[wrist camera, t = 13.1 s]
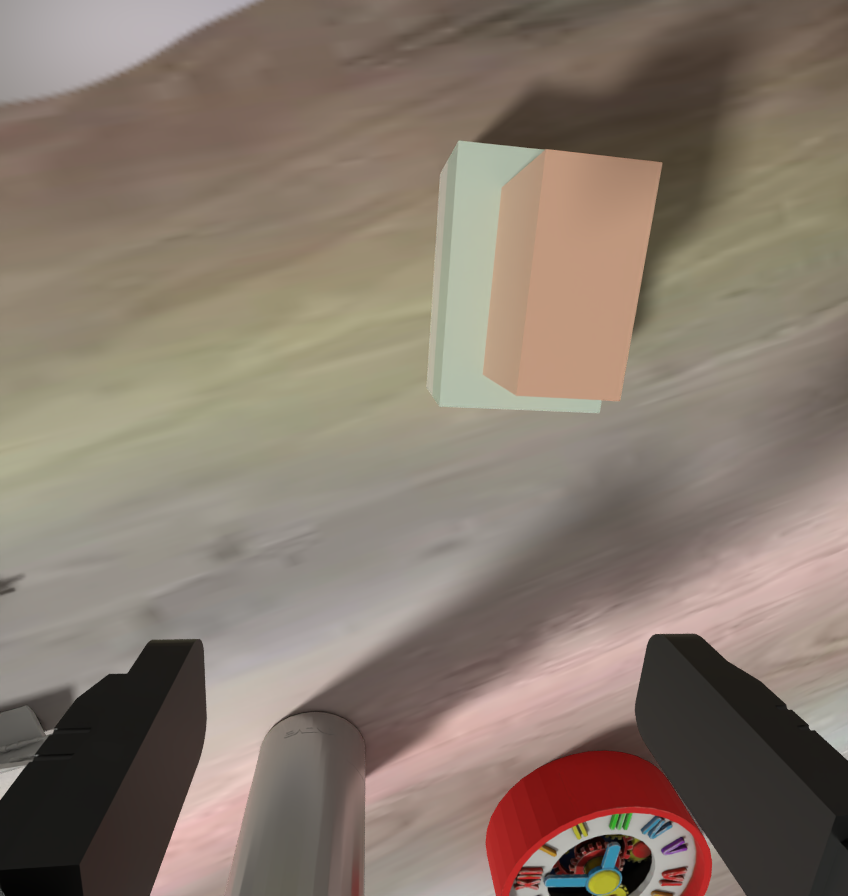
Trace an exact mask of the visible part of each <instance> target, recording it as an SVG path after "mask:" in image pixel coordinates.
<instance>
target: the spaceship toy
mask: <svg viewBox="0 0 848 896" xmlns="http://www.w3.org/2000/svg"><path fill="white" fill-rule="evenodd" d="M49 735H52V734H49ZM49 735H45V733H44V731H43V729H42V727H41V725H40V723H39V721H38V719H37V717H36V715H35V713H34V712H33V711H32V710H31V708H30V707H29V706H28V705H26V706H22V707H19V708H16V709H12V710H9V711H5V712H2V713H0V774H2V773H5V772H9V771H12V770H15V769H19V768H22V767H26V765H27V764H28V763H29V762H32V761H33V759H34V755H35V753H36V752H37V751H38V749H39V748H40V747H41V745H42V744H43V743H44V741H45V740H46V739H47V737H48V736H49Z"/></svg>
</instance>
